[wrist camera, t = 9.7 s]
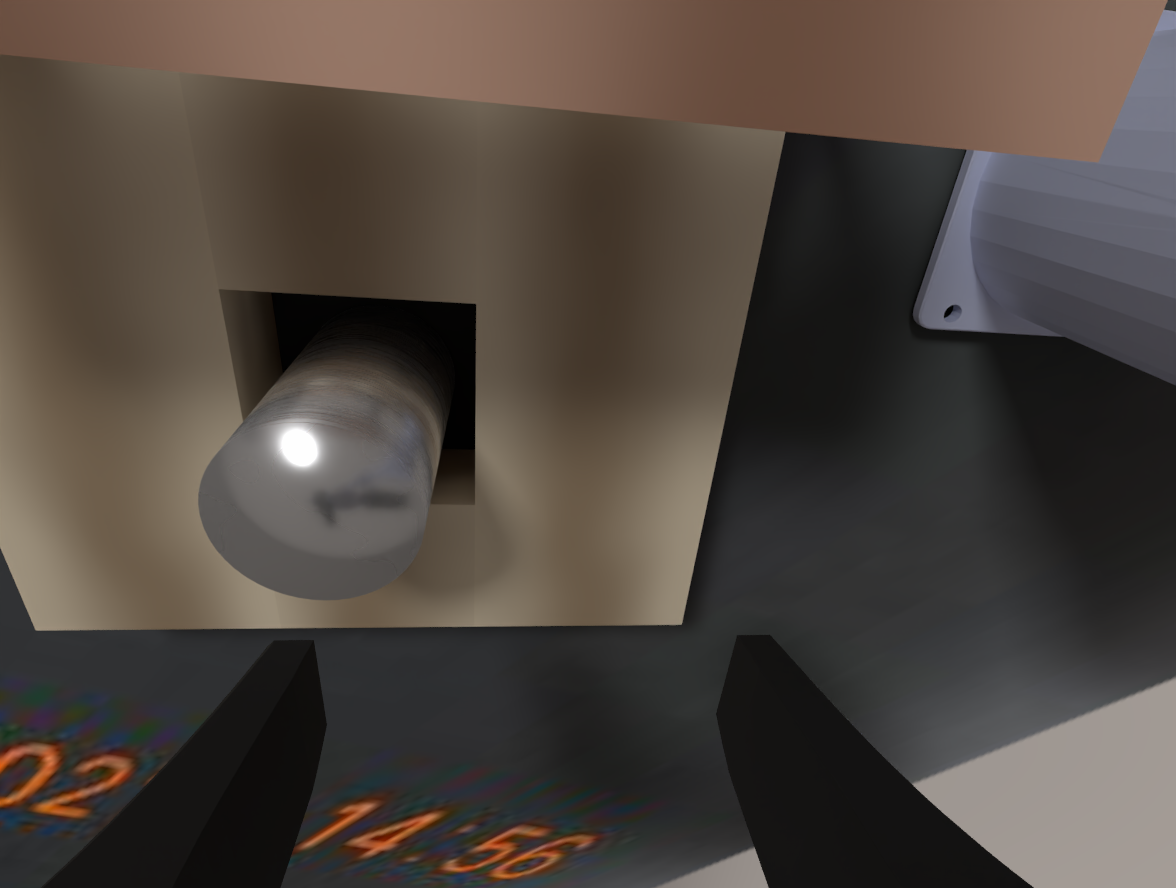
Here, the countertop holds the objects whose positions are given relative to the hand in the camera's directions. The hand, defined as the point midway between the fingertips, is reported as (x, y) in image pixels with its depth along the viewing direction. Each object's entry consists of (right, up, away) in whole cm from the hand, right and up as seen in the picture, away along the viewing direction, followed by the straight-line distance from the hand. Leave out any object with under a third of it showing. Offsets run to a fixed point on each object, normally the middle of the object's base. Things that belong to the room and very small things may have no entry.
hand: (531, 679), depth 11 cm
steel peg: (-5, +6, +7) cm, 10 cm away
